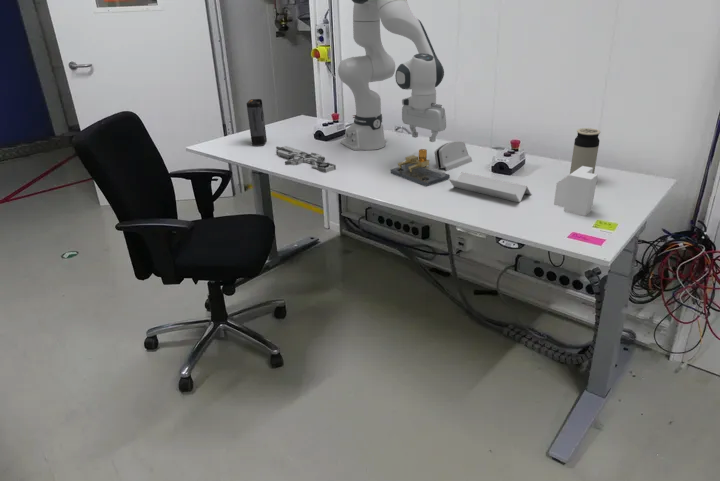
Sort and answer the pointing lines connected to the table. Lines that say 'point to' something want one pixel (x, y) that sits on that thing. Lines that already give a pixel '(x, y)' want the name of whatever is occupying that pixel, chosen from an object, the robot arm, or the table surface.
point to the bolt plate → (419, 172)
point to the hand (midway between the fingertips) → (423, 139)
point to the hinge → (452, 155)
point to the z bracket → (490, 186)
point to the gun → (304, 158)
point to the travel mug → (585, 149)
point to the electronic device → (256, 122)
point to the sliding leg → (420, 160)
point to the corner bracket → (577, 191)
